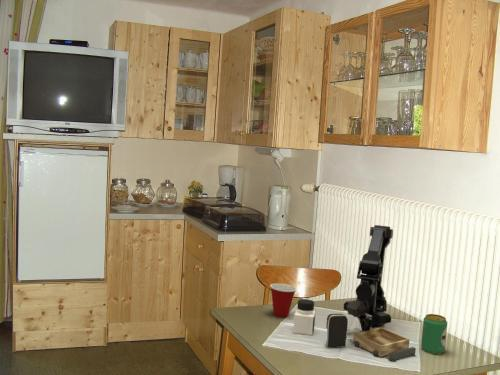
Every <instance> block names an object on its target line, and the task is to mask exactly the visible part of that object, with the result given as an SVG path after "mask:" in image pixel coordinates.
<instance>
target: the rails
mask: <svg viewBox="0 0 500 375" xmlns="http://www.w3.org/2000/svg"><path fill="white" fill-rule="evenodd" d="M353 329H354V330H355V331H358V332H362V329H359V328H357V327H355V328H354V327H353ZM347 337H348V336H346V338H347ZM350 340H351V341H350ZM350 340H349V341H350V342H352V341H354V339H353V338H350ZM416 349H417V348H416V347H413V346H412V347H409V348H407V349H403V350H399V351H395V352H391V353H389V355H385V356H382V357H383V358H385V359H387V360H388V361H390V362H393V363H396V362H397V360H401V359H406V358H409V357H415V358H416V357H417V355H416ZM405 357H406V358H405Z"/></svg>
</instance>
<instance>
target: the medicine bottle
mask: <svg viewBox="0 0 500 375" xmlns="http://www.w3.org/2000/svg"><path fill="white" fill-rule="evenodd" d="M293 321H294V322H293V333H294V334H299V335H307V336H313V335H314V331H315V324H316V311H315V302H314V300H312V299H310V298H300V299H298V300H297V308H296V310H295V312H294V319H293Z"/></svg>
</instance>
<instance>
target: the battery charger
mask: <svg viewBox="0 0 500 375" xmlns="http://www.w3.org/2000/svg"><path fill="white" fill-rule="evenodd" d="M348 320H349V319H348V317H347V316H346V315H345V314H343V313H330V314H328V315H327V317H326V323H325V325H326V326H325V327H326V330H327V332H326V341H325V342H326V345H325V346H327V347H326V348H345V347H346V346H347V345H346V342H347V339H346V337H347V334H348V324H349V323H348V322H349V321H348Z"/></svg>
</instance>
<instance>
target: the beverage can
mask: <svg viewBox="0 0 500 375" xmlns="http://www.w3.org/2000/svg"><path fill="white" fill-rule="evenodd" d="M422 324H423V325H422V331H421V341H420V342H421V344H420V347H421V348H422V351H423V352H424V353H428V354H432V355H441V354H443V353H444V351H446V344H447V341H446V340H447V330H448V320H447V318H446V317H445V316H443V315H440V314H435V313H428V314H425V317H424V318H423V322H422Z"/></svg>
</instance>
